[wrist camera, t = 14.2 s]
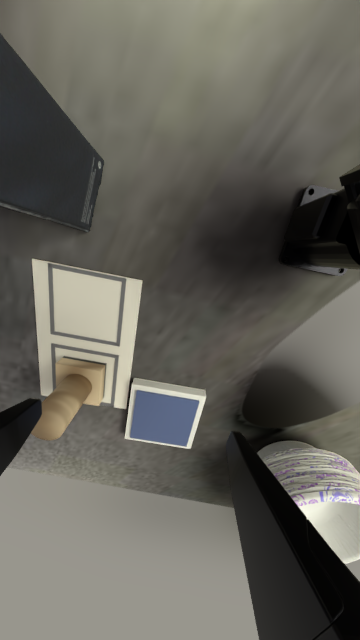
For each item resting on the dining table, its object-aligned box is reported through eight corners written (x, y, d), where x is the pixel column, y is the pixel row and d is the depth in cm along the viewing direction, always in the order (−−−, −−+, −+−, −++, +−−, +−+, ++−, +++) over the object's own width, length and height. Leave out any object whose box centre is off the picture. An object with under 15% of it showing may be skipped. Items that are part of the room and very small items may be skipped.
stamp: (106, 363, 22) (73, 409, 15) (104, 396, 24) (73, 451, 17) (64, 355, 22) (12, 399, 15) (64, 389, 23) (17, 442, 17)
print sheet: (142, 280, 19) (142, 280, 19) (126, 407, 24) (125, 409, 24) (33, 258, 18) (31, 258, 18) (42, 394, 24) (40, 395, 24)
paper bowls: (236, 499, 30) (254, 578, 23) (226, 431, 26) (244, 504, 18) (332, 489, 29) (384, 570, 22) (341, 416, 24) (411, 488, 17)
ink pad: (205, 389, 23) (206, 398, 22) (190, 440, 26) (190, 451, 25) (134, 377, 23) (131, 385, 21) (127, 430, 26) (123, 440, 24)
